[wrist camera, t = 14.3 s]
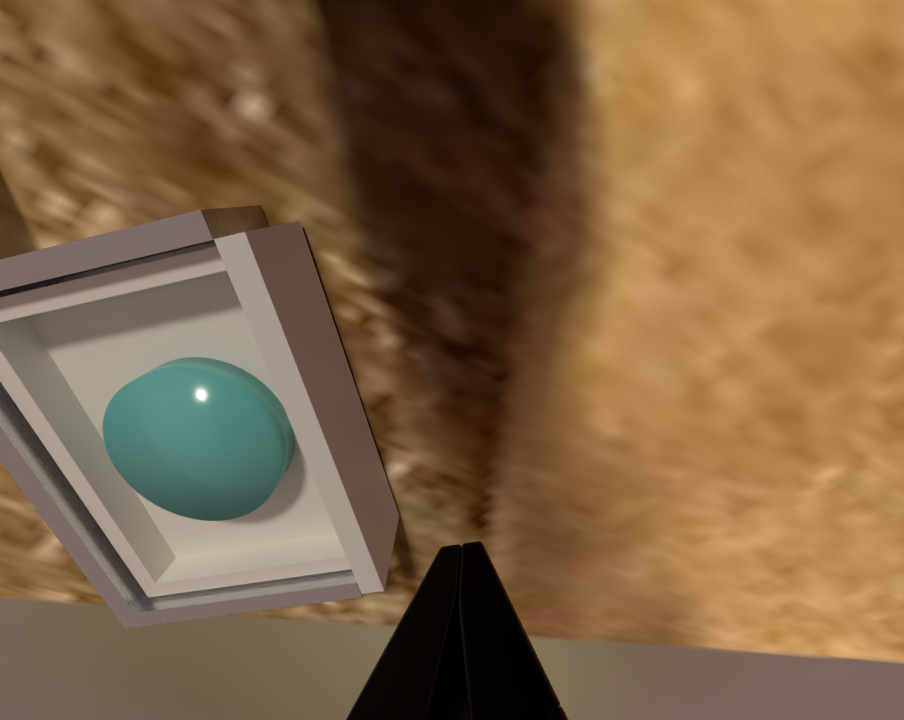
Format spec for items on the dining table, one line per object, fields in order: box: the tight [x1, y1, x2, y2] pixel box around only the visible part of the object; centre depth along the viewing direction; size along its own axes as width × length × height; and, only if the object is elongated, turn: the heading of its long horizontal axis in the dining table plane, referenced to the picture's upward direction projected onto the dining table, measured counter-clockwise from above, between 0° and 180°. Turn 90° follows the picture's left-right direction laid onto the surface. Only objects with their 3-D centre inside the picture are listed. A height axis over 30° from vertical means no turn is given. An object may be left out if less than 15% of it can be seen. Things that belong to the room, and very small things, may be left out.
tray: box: [0, 221, 399, 597], centre depth 18 cm, size 12×15×4 cm
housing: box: [0, 205, 363, 628], centre depth 18 cm, size 12×17×4 cm
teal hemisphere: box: [103, 357, 295, 521], centre depth 17 cm, size 7×7×2 cm
